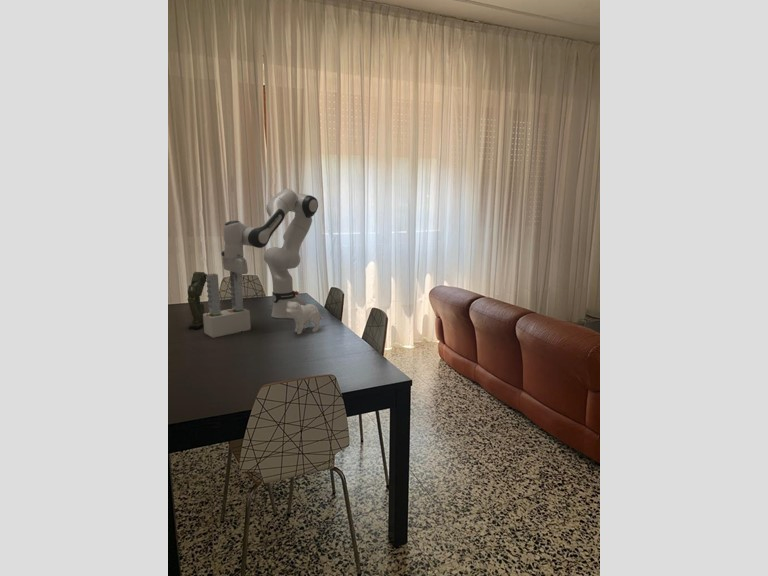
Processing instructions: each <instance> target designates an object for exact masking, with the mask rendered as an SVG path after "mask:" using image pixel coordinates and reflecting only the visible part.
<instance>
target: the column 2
mask: <svg viewBox="0 0 768 576" xmlns="http://www.w3.org/2000/svg"><path fill="white" fill-rule="evenodd" d="M236 278H237V273H230V272H229V281H230V283H229V285H230V295H231V298H230V299H231V309H232V310H233V312H240V311H243V308H244V301H243V284H242V283H243V282H242V279H241V281H240V282H238V281H236Z"/></svg>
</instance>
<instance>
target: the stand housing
mask: <svg viewBox="0 0 768 576" xmlns="http://www.w3.org/2000/svg"><path fill="white" fill-rule="evenodd" d="M220 311H221V315H219V316H214V317H211V316H210V315H209V312H208V313H207V312H204V314H203V321H204V327H203V330H204V331H203V332H204V334H205V335H207V336H209V337H210V338H218V337H223V336H228V335H232V334H237V333H241V331H242V332H246V331H250V330H252V329H251V327H252V326H251V314H250V313H251V312H250V310H249V309H246V308H244V307H243V311H240V312H233V310H232V308H229V309H228V308H227V309H223V310H222V309H221V310H220Z"/></svg>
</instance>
